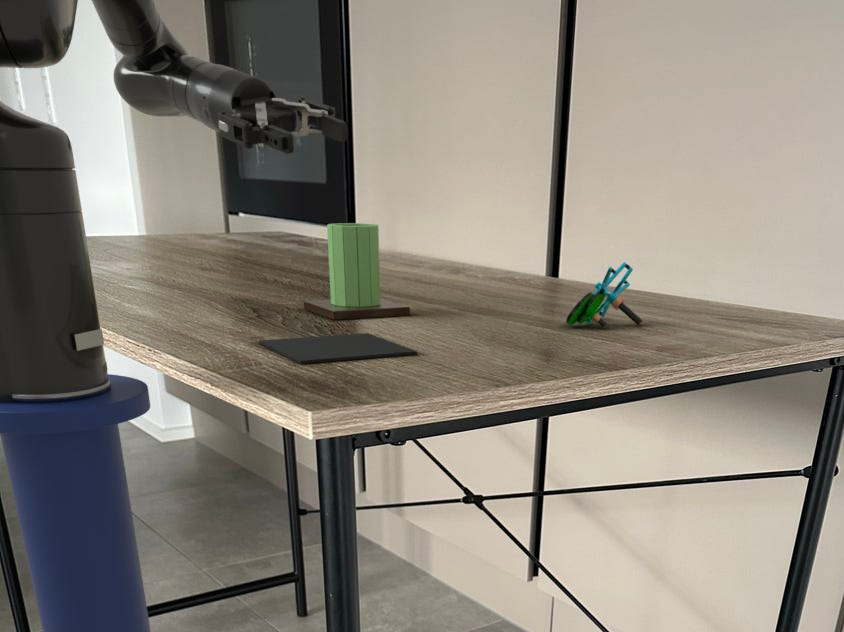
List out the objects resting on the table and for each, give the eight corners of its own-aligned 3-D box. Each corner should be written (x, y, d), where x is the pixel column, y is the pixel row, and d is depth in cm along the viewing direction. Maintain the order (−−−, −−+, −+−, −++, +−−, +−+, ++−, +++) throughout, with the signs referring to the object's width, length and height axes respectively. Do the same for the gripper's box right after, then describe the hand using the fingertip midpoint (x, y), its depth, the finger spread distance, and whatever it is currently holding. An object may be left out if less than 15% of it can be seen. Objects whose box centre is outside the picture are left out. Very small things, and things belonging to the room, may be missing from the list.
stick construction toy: (600, 296, 117) (629, 246, 111) (642, 332, 117) (673, 285, 110) (547, 334, 110) (574, 284, 104) (590, 374, 110) (621, 326, 103)
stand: (333, 320, 111) (329, 237, 107) (304, 309, 119) (299, 231, 114) (410, 315, 115) (408, 235, 111) (376, 305, 123) (374, 230, 119)
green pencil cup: (342, 308, 113) (339, 226, 109) (324, 301, 117) (320, 223, 113) (388, 305, 116) (386, 225, 112) (368, 299, 120) (365, 223, 116)
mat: (300, 364, 87) (300, 360, 86) (259, 343, 96) (259, 340, 96) (417, 354, 92) (417, 351, 92) (367, 335, 101) (367, 333, 101)
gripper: (180, 76, 112) (270, 112, 105) (273, 62, 120) (362, 95, 113) (188, 144, 117) (274, 182, 110) (276, 126, 125) (361, 161, 119)
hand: (318, 138), depth 112 cm, fingers open, 8 cm apart
